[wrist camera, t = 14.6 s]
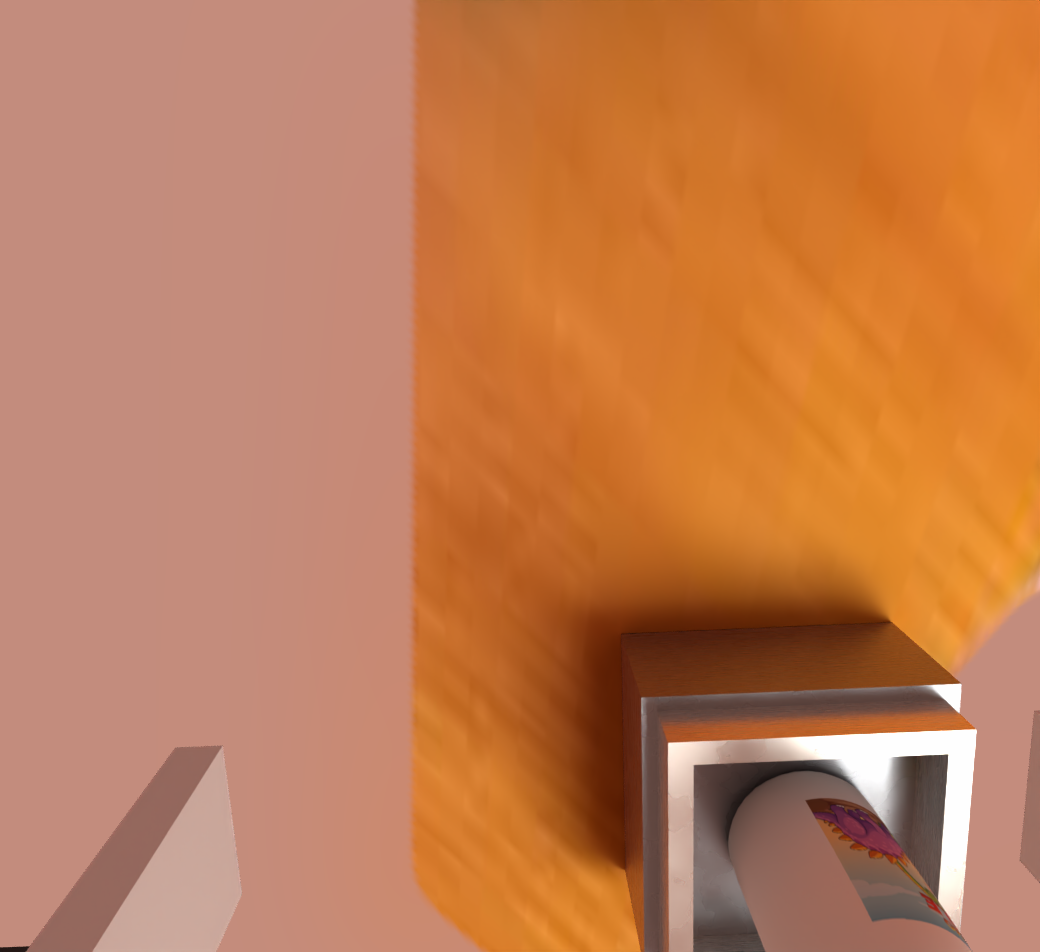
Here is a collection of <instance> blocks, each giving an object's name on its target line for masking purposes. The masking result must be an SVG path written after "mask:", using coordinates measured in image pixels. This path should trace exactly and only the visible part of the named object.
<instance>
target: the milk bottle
mask: <svg viewBox="0 0 1040 952" xmlns="http://www.w3.org/2000/svg"><path fill="white" fill-rule="evenodd" d="M728 848H729V855H730V859H731V863H732V866H733V869H734V872H735V874H736V877H737V880H738V882H739V885H740V888H741V890H742V893H743V895H744V898H745V901H746V903H747V906H748V908H749V911H750V913H751V916H752V919H753V921H754V924H755V926H756V929H757V931H758V934H759V936H760V939H761V942H762V944H763V947H764V949H765V952H972V950H971V949H970V947H969V946H968V944H967V943H966V941H965V939H964V938H963V937H962V935H961V933H960V932H959V930H958V929H957V927H956V926H955V924H954V923H953V921H952V920H951V919H950V917H949V916H948V914H947V913H946V911H945V910H944V908H943V907H942V905H941V904H940V903H939V901H938V900H937V898H936V897H935V895H934V894H933V892H932V891H931V890H930V888H929V887H928V885H927V884H926V882H925V881H924V879H923V878H922V876H921V875H920V874H919V872H918V871H917V869H916V868H915V867H914V865H913V864H912V862H911V861H910V859H909V858H908V857H907V855H906V854H905V852H904V851H903V849H902V848H901V847H900V845H899V844H898V842H897V841H896V840H895V838H894V837H893V835H892V834H891V832H890V831H889V830H888V828H887V827H886V825H885V824H884V823H883V821H882V820H881V818H880V817H879V816H878V814H877V813H876V811H875V810H874V809H873V807H872V806H871V805H870V803H869V802H868V801H867V800H866V798H865V797H864V796H863V795H862V794H861V793H860V792H859V791H858V790H857V789H856V788H855V787H853V786H852V785H851V784H849V783H848V782H846V781H844V780H842V779H840V778H837V777H835V776H832V775H829V774H826V773H822V772H814V771H793V772H790V773H786V774H781V775H778V776H776V777H774V778H772V779H769V780H767V781H765V782H764V783H762V784H761V785H759V786H758V787H756V788H755V789H754V790H753V791H752V792H751V793H750V794H749V795H748V796H747V797H745V799H744V800H743V802H742V803H741V805H740V806H739V807H738V809H737V811H736V814H735V816H734V818H733V820H732V824H731V828H730V832H729V839H728Z"/></svg>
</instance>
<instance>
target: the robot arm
mask: <svg viewBox="0 0 1040 952" xmlns="http://www.w3.org/2000/svg"><path fill="white" fill-rule="evenodd" d="M1023 822H1024V823H1023V832H1022V842H1021V853H1020V861H1021V863H1022V864H1023V865H1024V866H1025V867H1026V868H1027V869H1028V870H1029V872H1031V874H1032V875H1033V876H1034V877H1035V878H1036V879H1037V881H1038V882H1039V883H1040V711H1034V718H1033V728H1032V739H1031V749H1030V759H1029V770H1028V780H1027V791H1026V801H1025V812H1024V821H1023ZM241 895H242V890H241V882H240V875H239V867H238V859H237V852H236V844H235V836H234V829H233V821H232V813H231V806H230V798H229V790H228V782H227V776H226V767H225V760H224V752H223V746H204V747H180V748H175V749H174V750H173V752H172V753H171V754H170V756H169V757H168V758H167V760H166V761H165V763H164V764H163V765H162V767H161V768H160V769H159V771H158V772H157V773H156V775H155V776H154V778H153V779H152V780H151V782H150V783H149V784H148V786H147V787H146V788H145V790H144V791H143V793H142V794H141V795H140V797H139V798H138V799H137V801H136V802H135V803H134V805H133V806H132V808H131V809H130V810H129V812H128V813H127V814H126V816H125V817H124V819H123V820H122V821H121V823H120V824H119V825H118V827H117V828H116V830H115V831H114V832H113V834H112V835H111V836H110V838H109V839H108V841H107V842H106V843H105V844H104V846H103V847H102V849H101V850H100V851H99V853H98V854H97V855H96V857H95V858H94V859H93V861H92V862H91V864H90V865H89V866H88V868H87V869H86V871H85V872H84V873H83V875H82V876H81V877H80V879H79V880H78V881H77V883H76V884H75V885H74V887H73V888H72V889H71V891H70V892H69V894H68V895H67V896H66V898H65V899H64V901H63V902H62V903H61V905H60V906H59V907H58V909H57V910H56V911H55V913H54V914H53V915H52V917H51V918H50V919H49V921H48V922H47V924H46V925H45V926H44V928H43V929H42V930H41V932H40V933H39V935H38V936H37V937H36V939H35V940H34V941H33V943H32V944H31V945H30V946H29V947H28V946H26V947H3V948H0V952H216V951H217V949H218V946H219V944H220V942H221V940H222V937H223V935H224V933H225V930H226V929H227V926H228V924H229V922H230V920H231V917H232V915H233V913H234V910H235V908H236V906H237V904H238V902H239V899H240V897H241Z"/></svg>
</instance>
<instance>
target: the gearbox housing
mask: <svg viewBox="0 0 1040 952" xmlns="http://www.w3.org/2000/svg"><path fill="white" fill-rule="evenodd" d="M621 653H622V709H623V766H624V822H625V872H626V877H627V882H628V887H629V892H630V898H631V903H632V908H633V913H634V918H635V923H636V929H637V934H638V939H639V944H640V949H641V952H765V949H764V947H763V944H762V942H761V939H760V936H759V934H758V931H757V929H756V926H755V924H754V921H753V919H752V916H751V913H750V911H749V908H748V906H747V903H746V901H745V898H744V895H743V893H742V890H741V888H740V885H739V882H738V880H737V877H736V874H735V872H734V869H733V866H732V863H731V859H730V855H729V848H728V839H729V832H730V828H731V824H732V820H733V818H734V816H735V814H736V811H737V809H738V807H739V806H740V805H741V803H742V802H743V800H744V799H745V797H747V796H748V795H749V794H750V793H751V792H752V791H753V790H754V789H755V788H756V787H758V786H759V785H761V784H762V783H764V782H765V781H767V780H769V779H772V778H774V777H776V776H778V775H781V774H786V773H790V772H793V771H814V772H822V773H826V774H829V775H832V776H835V777H837V778H840V779H842V780H844V781H846V782H848V783H849V784H851V785H852V786H853V787H855V788H856V789H857V790H858V791H859V792H860V793H861V794H862V795H863V796H864V797H865V798H866V800H867V801H868V802H869V803H870V805H871V806H872V807H873V809H874V810H875V811H876V813H877V814H878V816H879V817H880V818H881V820H882V821H883V823H884V824H885V825H886V827H887V828H888V830H889V831H890V832H891V834H892V835H893V837H894V838H895V840H896V841H897V842H898V844H899V845H900V847H901V848H902V849H903V851H904V852H905V854H906V855H907V857H908V858H909V859H910V861H911V862H912V864H913V865H914V867H915V868H916V869H917V871H918V872H919V874H920V875H921V876H922V878H923V879H924V881H925V882H926V884H927V885H928V887H929V888H930V890H931V891H932V892H933V894H934V895H935V897H936V898H937V900H938V901H939V903H940V904H941V905H942V907H943V908H944V910H945V911H946V913H947V914H948V916H949V917H950V919H951V920H952V921H953V923H954V924H955V926H956V927H957V929H958V930H959V932H960V926H961V913H962V900H963V888H964V875H965V864H966V852H967V838H968V827H969V815H970V801H971V789H972V776H973V764H974V753H975V740H976V729H975V728H974V727H973V726H972V725H971V724H970V723H969V722H968V721H966V719H965V718H964V717H963V716H961V714H959V711H960V698H961V685H962V684H961V683H960V682H959V681H958V680H957V679H956V678H954V677H953V676H952V675H951V674H950V673H949V672H948V671H946V670H945V669H944V668H943V667H942V666H941V665H940V664H939V663H937V662H936V661H935V660H934V659H933V658H932V657H931V656H929V655H928V654H927V653H926V652H925V651H924V650H923V649H922V648H920V647H919V646H918V645H917V644H916V643H915V642H914V641H912V640H911V639H910V638H909V637H908V636H907V635H906V634H905V633H903V632H902V631H901V630H900V629H899V628H898V627H897V626H895V625H894V624H893V623H892V622H887V623H864V624H840V625H817V626H794V627H771V628H747V629H724V630H701V631H677V632H654V633H631V634H621Z"/></svg>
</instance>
